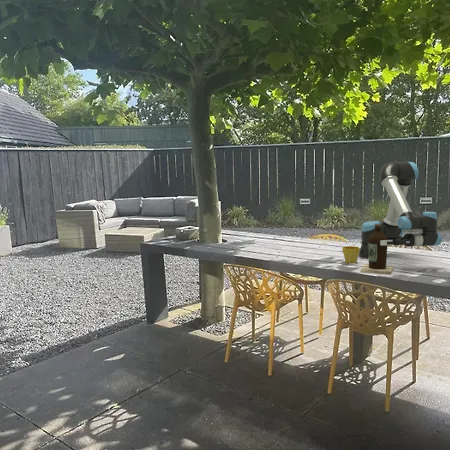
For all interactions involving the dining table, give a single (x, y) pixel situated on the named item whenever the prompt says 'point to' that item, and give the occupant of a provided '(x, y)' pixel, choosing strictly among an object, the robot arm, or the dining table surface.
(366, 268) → the ash board
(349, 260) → the plant pot
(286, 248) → the dining table surface
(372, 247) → the olive oil
